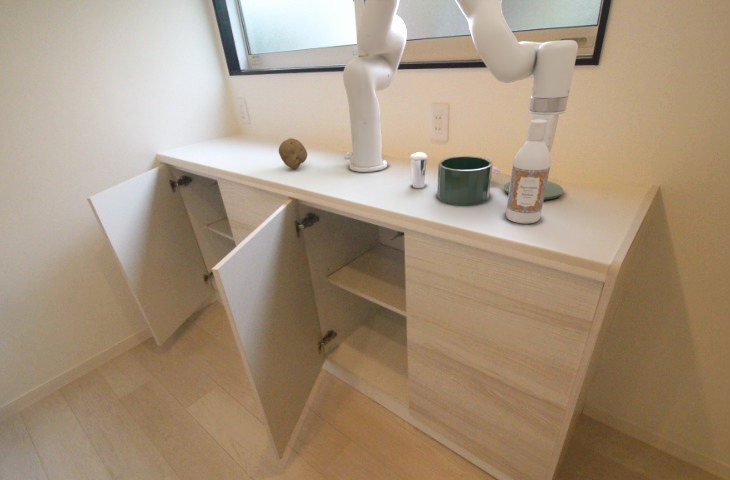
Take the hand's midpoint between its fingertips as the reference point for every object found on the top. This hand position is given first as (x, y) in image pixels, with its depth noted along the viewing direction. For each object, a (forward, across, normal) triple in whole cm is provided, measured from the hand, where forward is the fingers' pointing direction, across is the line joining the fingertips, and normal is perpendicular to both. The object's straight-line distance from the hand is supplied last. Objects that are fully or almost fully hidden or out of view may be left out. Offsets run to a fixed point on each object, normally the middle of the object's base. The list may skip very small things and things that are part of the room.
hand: (533, 184), depth 90 cm
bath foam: (+2, +17, +1) cm, 17 cm away
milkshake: (+2, +6, -29) cm, 30 cm away
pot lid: (+2, 0, 0) cm, 2 cm away
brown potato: (+2, +4, -75) cm, 75 cm away
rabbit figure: (+2, -6, -17) cm, 18 cm away
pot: (+2, +9, -15) cm, 18 cm away
